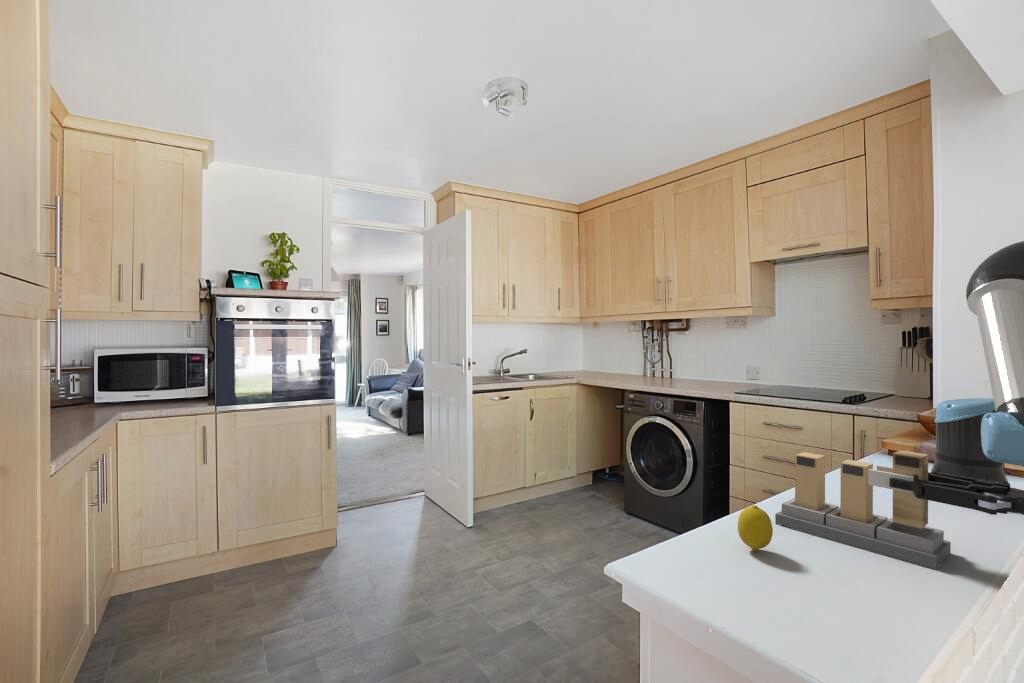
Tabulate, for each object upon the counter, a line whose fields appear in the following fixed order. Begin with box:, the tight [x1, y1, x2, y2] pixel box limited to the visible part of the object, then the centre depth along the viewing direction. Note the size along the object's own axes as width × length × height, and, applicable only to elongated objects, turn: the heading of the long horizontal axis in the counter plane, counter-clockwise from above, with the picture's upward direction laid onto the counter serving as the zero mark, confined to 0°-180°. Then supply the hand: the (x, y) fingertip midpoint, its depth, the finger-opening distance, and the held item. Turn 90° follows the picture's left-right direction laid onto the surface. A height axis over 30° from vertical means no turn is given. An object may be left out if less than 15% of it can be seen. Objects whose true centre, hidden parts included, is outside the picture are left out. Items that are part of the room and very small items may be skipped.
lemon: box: [737, 504, 774, 552], centre depth 86 cm, size 6×6×8 cm
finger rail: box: [774, 451, 952, 571], centre depth 92 cm, size 10×25×14 cm, turn 38°
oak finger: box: [892, 450, 929, 529], centre depth 85 cm, size 4×4×12 cm
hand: (873, 474), depth 90 cm, fingers closed on oak finger, 4 cm apart
